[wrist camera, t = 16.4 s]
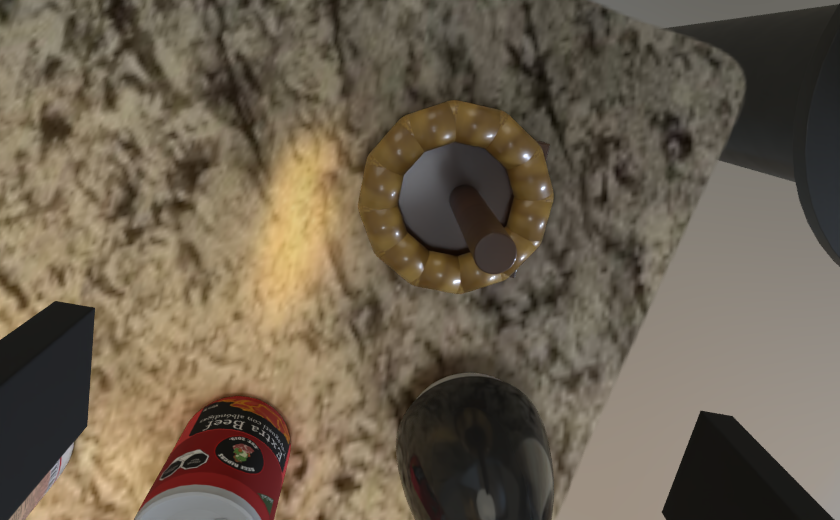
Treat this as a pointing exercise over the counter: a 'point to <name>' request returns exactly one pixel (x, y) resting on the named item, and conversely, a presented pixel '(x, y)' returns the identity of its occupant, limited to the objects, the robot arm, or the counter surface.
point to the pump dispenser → (475, 453)
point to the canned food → (223, 465)
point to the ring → (433, 132)
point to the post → (461, 205)
